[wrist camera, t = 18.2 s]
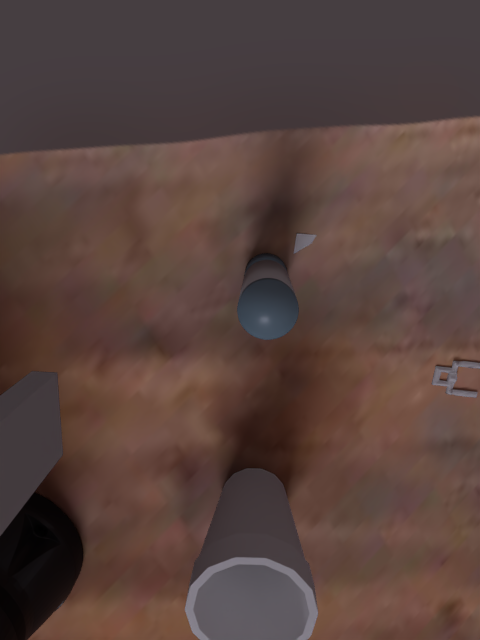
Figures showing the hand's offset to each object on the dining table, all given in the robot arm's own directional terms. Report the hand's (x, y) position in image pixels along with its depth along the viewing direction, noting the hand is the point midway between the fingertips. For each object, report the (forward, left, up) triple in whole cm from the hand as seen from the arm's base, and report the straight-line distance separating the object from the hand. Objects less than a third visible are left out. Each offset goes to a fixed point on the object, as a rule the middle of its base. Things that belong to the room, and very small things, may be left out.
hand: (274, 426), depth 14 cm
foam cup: (0, -22, -27) cm, 35 cm away
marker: (0, 0, -27) cm, 27 cm away
